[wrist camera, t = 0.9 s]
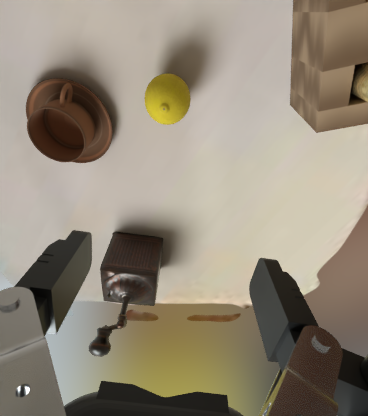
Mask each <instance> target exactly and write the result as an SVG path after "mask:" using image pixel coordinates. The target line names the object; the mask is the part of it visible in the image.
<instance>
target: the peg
mask: <svg viewBox="0 0 368 416" xmlns="http://www.w3.org/2000/svg"><path fill="white" fill-rule="evenodd" d="M350 93H352V94H354V95H356V96H358V97H359V98H361V99H363V100H365V101H367V102H368V62H366V63H362V64H357V65H355V68H354V74H353V80H352V86H351V92H350Z"/></svg>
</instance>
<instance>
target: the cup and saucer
mask: <svg viewBox="0 0 368 416" xmlns="http://www.w3.org/2000/svg"><path fill="white" fill-rule="evenodd" d="M26 114H27V119H28V122H27V130H28V134H29V137H30V139H31V141H32V143H33V144H34V145H35V147H36V148H37V149H38V150H39V151H40V152H41V153H42V154H44V155H45V156H47V157H49V158H51V159H53V160H56V161H59V162H76V163H87V162H92V161H95V160H97V159H99V158H100V157H102V156H103V155H104V154H105V153H106V151H107V150H108V148H109V146H110V144H111V140H112V124H111V120H110V117H109V114H108V112H107V110H106V108H105V107H104V105H103V104H102V102H101V101H100V100H99V99H98V97H97V96H96V95H95V94H94V93H92V92H91V91H90V90H89V89H87V88H86V87H84V86H82V85H81V84H79V83H76V82H74V81H71V80H67V79H48V80H45V81H42V82H40V83H39V84H37V85H36V86H35V87H34V88H33V89H32V90H31V92H30V94H29V96H28V98H27V103H26Z"/></svg>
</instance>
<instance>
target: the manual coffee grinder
mask: <svg viewBox="0 0 368 416" xmlns="http://www.w3.org/2000/svg"><path fill="white" fill-rule="evenodd" d="M162 246H163V238H158V237H152V236H144V235H136V234H128V233H120V232H117V233H113V236H112V239H111V241H110V244H109V247H108V249H107V252H106V254H105V257H104V259H103V262H102V264H101V268H100V270H101V282H102V290H103V297H104V301H110V302H118V303H123V304H122V309H121V313H120V314H119V315H118V320H119V321H118V322H117V324H116V325H112V326H109V327H108V326H107V325H105V326H104V327H102V328H98V329H97V337H96V338H95V339H94V340H93V341H92V342H91V343H90V345H89V351H90V353H91V354H92V355H94V356H100V357H102V356H104V355H106V354H108V353H109V351H110V349H111V345H110V343H109V336H110V334H111V333H112V330H114V329H121V328H124V327H125V326H126V324H127V316H126V310H127V306H128V304H137V305H150V306H154V305H155V300H156V293H157V287H158V280H159V274H160V267H161V260H162Z"/></svg>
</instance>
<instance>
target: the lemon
mask: <svg viewBox="0 0 368 416" xmlns="http://www.w3.org/2000/svg"><path fill="white" fill-rule="evenodd" d="M145 106H146V109H147V111H148V113H149V115H150V116H151V117H152V118H153V119H154V120H155V121H157V122H158V123H161V124H167V125H169V124H174V123H176V122H178V121H180V120H181V119H182V118H183V117H184V116H185V114H186V113H187V111H188V109H189V106H190V92H189V89H188V86H187V85H186V83H185V82H184V81H183V80H182V79H181V78H180V77H178V76H176V75H174V74H162V75H159V76H157V77H155V78H154V79H153V80H152V81H151V82H150V83H149V85H148V87H147V89H146V92H145Z"/></svg>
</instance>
